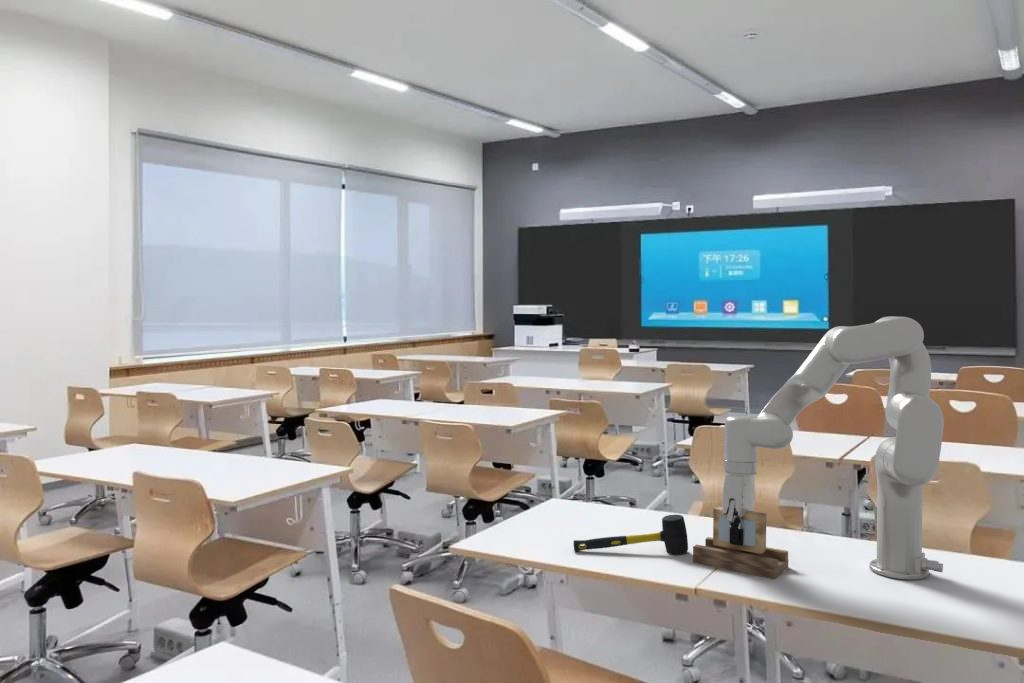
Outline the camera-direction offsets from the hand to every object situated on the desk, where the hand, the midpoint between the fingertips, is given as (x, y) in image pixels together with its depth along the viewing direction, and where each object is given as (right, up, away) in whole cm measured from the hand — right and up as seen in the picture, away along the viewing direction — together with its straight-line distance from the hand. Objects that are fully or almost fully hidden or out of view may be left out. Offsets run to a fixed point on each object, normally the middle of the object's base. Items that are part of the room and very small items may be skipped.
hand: (739, 541), depth 190 cm
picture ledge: (0, -6, 0) cm, 6 cm away
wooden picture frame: (0, -1, 0) cm, 2 cm away
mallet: (-25, -6, +11) cm, 28 cm away
